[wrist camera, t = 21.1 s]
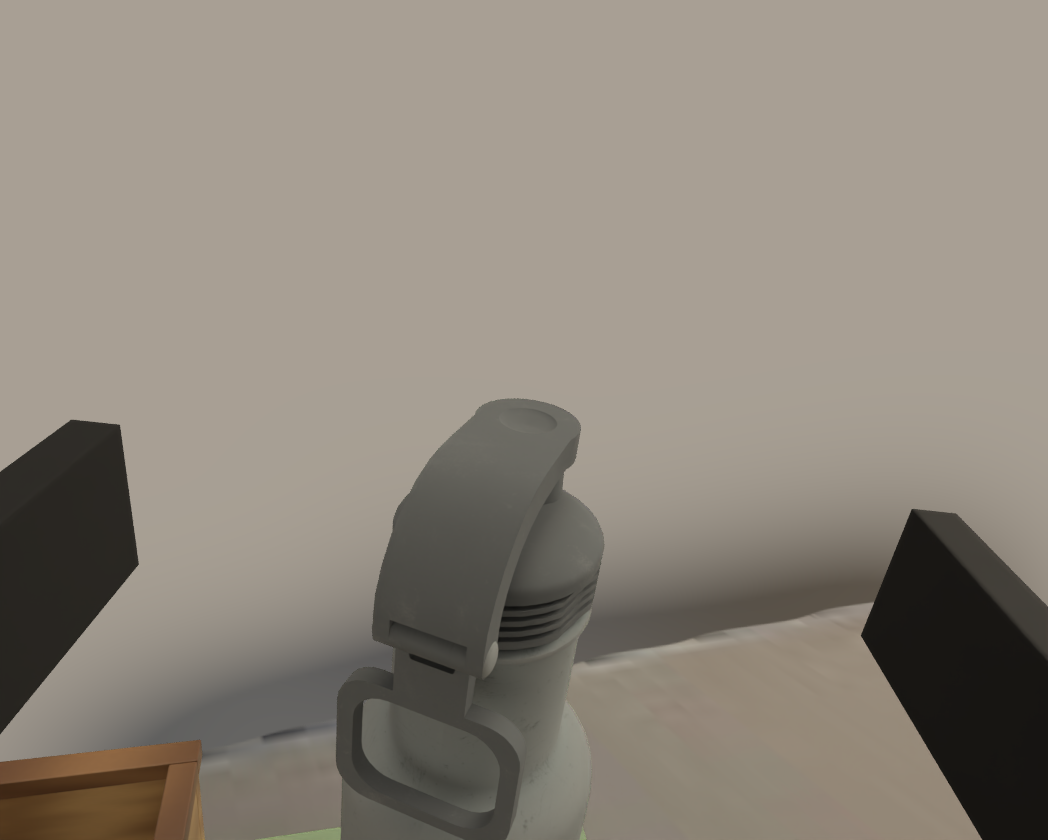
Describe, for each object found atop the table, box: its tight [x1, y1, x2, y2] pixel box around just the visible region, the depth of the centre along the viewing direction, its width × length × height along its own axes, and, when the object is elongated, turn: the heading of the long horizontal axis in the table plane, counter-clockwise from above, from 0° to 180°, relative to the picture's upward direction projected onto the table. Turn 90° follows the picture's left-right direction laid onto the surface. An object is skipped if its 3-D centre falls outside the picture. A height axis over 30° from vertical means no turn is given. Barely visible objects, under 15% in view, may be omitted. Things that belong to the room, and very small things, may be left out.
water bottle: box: [336, 399, 604, 840], centre depth 28 cm, size 10×10×28 cm
